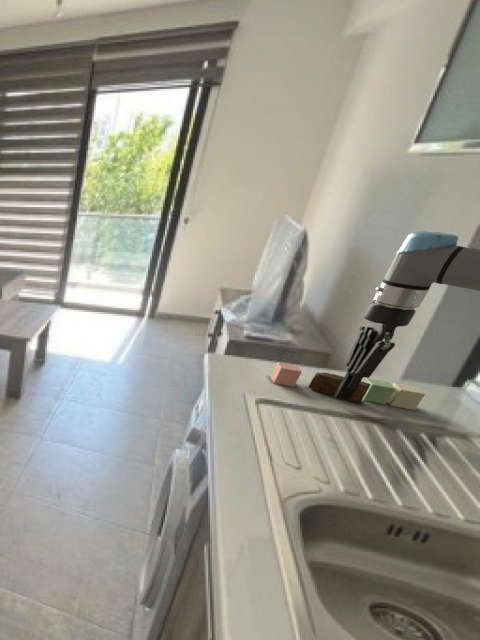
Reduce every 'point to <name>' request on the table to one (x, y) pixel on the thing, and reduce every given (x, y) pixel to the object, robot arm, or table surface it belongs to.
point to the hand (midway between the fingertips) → (341, 398)
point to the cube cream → (405, 396)
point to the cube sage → (378, 391)
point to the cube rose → (285, 374)
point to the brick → (336, 386)
